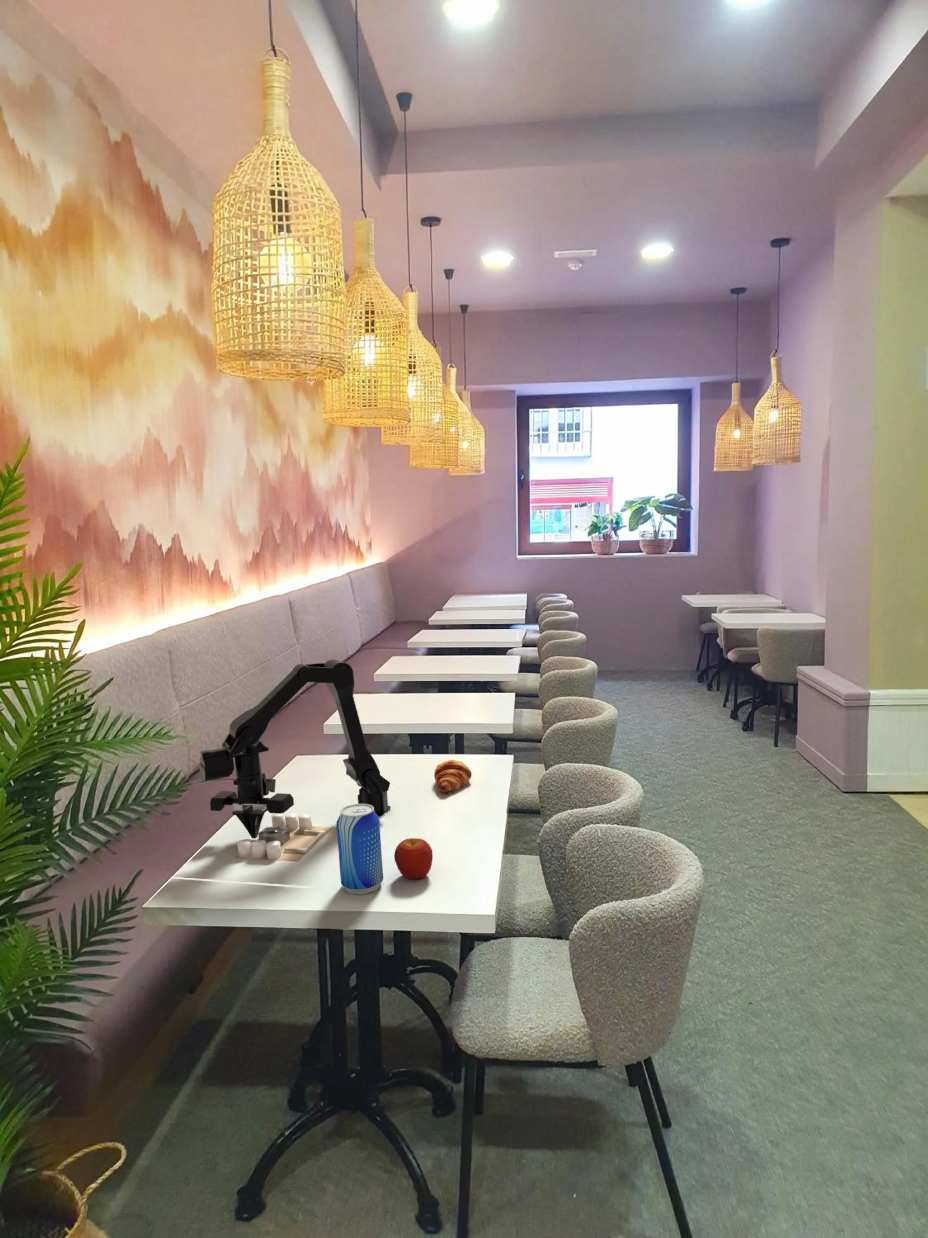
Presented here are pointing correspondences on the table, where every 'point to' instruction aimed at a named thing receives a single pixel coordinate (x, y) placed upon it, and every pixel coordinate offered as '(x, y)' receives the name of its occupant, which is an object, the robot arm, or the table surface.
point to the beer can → (359, 849)
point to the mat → (299, 843)
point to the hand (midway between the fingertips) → (254, 837)
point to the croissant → (451, 775)
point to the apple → (413, 858)
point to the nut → (275, 834)
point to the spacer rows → (273, 847)
